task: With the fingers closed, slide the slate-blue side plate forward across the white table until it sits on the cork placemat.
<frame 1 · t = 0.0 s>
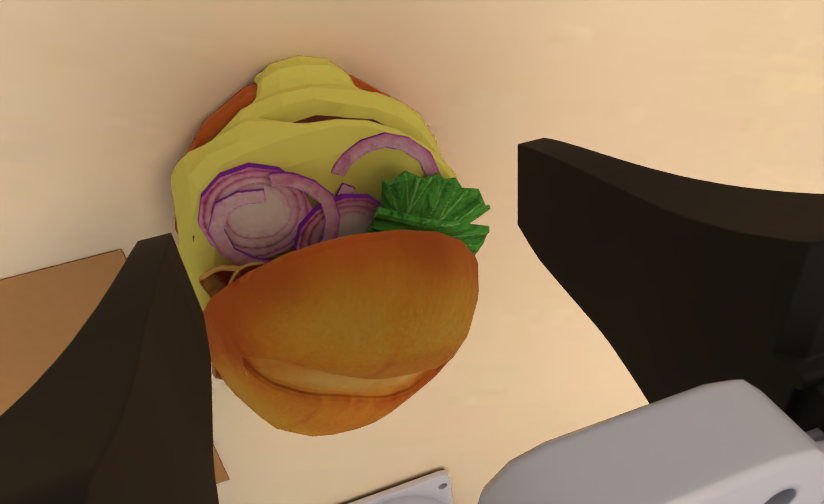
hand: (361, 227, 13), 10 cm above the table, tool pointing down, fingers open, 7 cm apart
cheeseburger: (312, 198, 24), on the table
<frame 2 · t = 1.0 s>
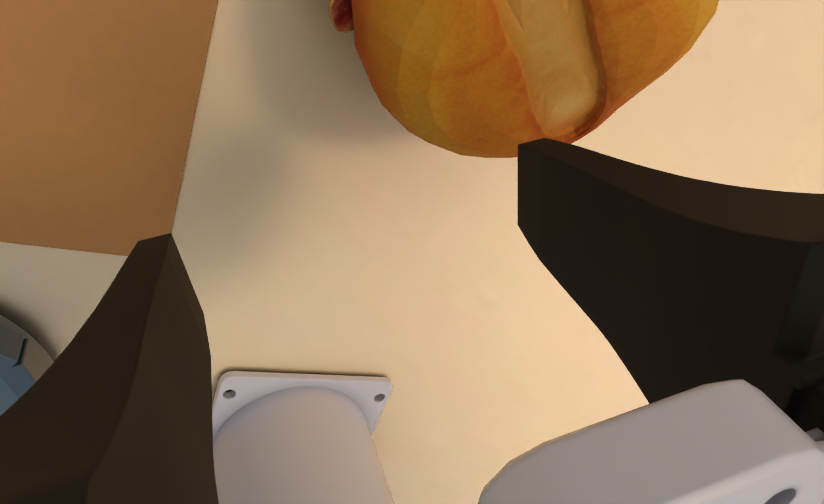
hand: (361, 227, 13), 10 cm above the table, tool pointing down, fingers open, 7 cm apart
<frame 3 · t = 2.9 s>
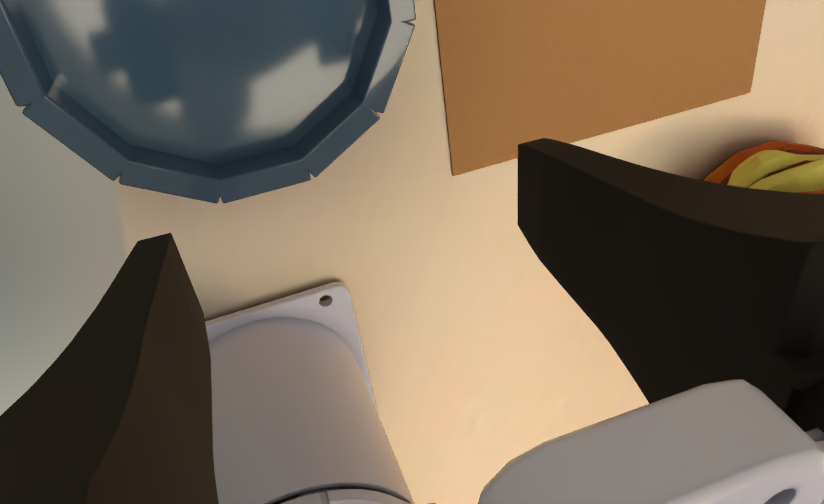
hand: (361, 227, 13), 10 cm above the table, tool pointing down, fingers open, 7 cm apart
cheeseburger: (722, 227, 31), on the table
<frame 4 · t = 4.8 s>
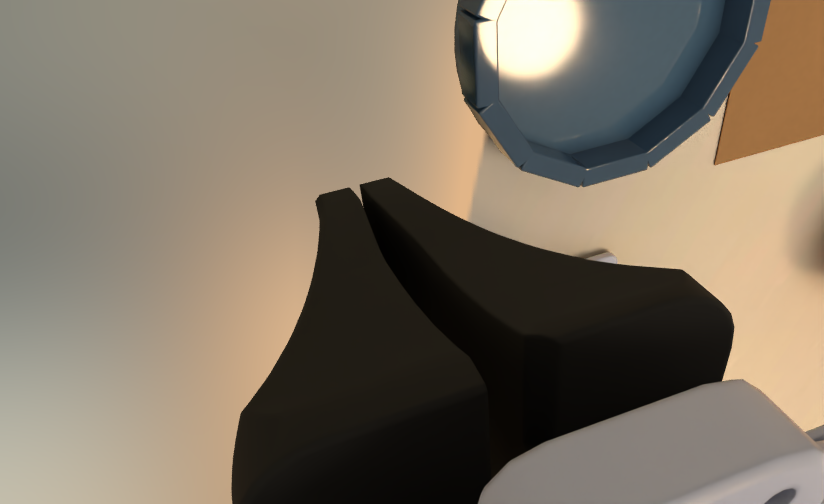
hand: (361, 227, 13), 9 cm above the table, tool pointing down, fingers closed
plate: (590, 13, 22), on the table
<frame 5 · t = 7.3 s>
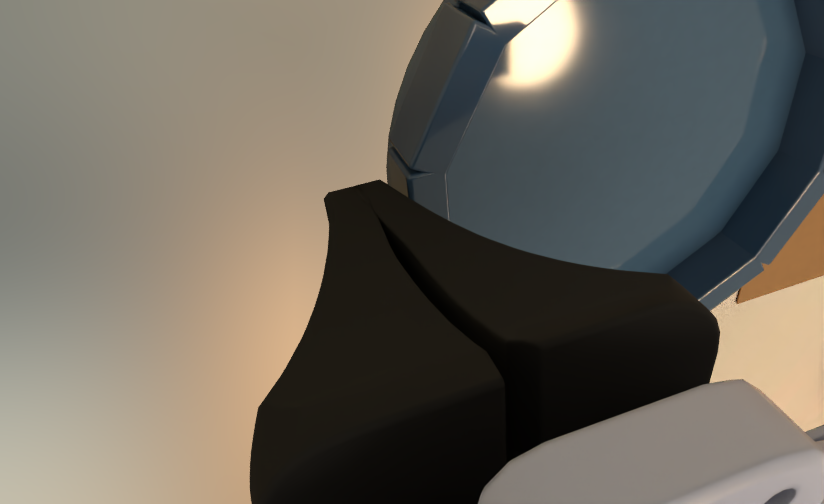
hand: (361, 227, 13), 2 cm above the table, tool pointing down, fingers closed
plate: (593, 127, 15), on the table, touching gripper
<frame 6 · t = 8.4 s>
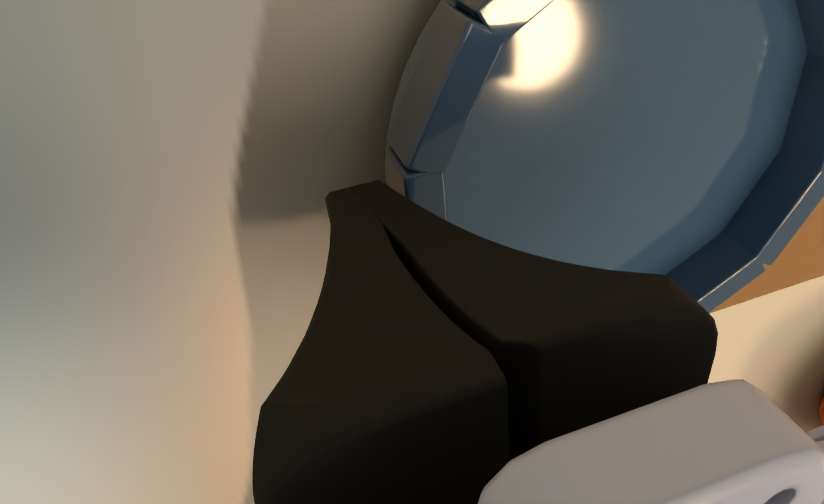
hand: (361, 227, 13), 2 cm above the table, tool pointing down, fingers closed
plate: (593, 126, 15), on the table, touching gripper, placemat
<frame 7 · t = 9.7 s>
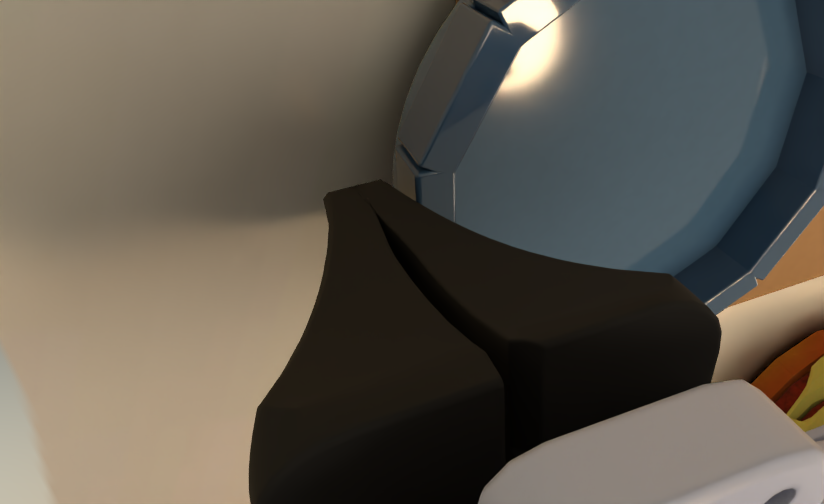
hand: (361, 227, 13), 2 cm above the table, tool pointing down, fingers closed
placemat: (716, 97, 16), on the table
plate: (596, 136, 15), resting on placemat, touching gripper
cheeseburger: (784, 395, 26), on the table
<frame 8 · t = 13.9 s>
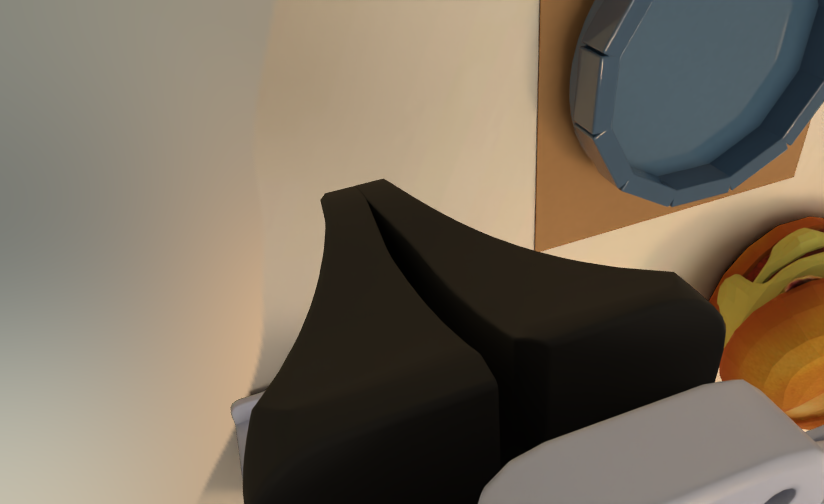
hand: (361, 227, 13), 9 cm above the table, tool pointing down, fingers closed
placemat: (699, 42, 24), on the table
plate: (685, 49, 24), resting on placemat
cheeseburger: (756, 284, 35), on the table
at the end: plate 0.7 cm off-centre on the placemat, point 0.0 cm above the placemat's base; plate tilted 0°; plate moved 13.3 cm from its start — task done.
